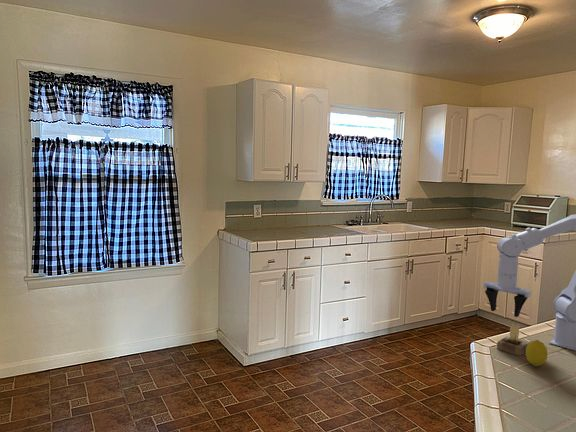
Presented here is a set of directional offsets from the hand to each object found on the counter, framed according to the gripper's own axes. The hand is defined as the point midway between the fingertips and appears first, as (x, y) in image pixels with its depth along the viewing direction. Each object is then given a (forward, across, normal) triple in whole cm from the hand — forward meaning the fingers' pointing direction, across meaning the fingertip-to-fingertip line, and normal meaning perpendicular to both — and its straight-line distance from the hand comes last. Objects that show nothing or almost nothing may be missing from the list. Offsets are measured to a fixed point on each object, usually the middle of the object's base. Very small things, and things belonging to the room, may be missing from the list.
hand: (504, 313), depth 147 cm
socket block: (+9, +6, -6) cm, 12 cm away
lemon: (+10, +15, -13) cm, 22 cm away
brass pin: (+9, +6, -6) cm, 12 cm away
